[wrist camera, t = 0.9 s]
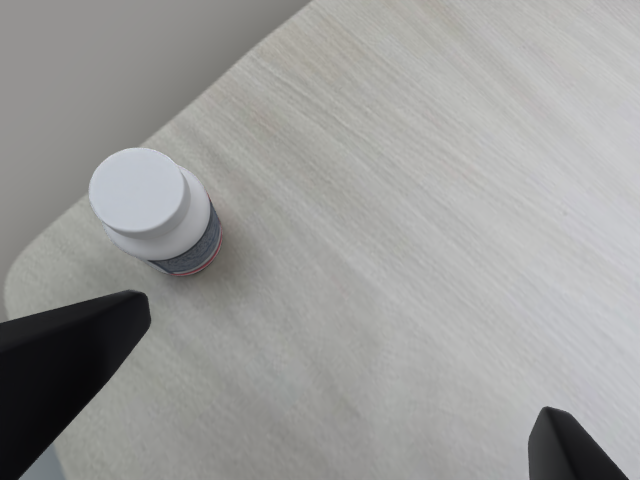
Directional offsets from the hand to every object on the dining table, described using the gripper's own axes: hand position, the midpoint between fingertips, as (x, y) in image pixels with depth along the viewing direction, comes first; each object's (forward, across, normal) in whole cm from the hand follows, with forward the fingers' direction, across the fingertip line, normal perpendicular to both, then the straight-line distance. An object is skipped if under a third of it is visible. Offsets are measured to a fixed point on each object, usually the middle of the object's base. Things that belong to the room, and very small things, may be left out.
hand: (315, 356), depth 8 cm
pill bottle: (+13, +14, +5) cm, 19 cm away
